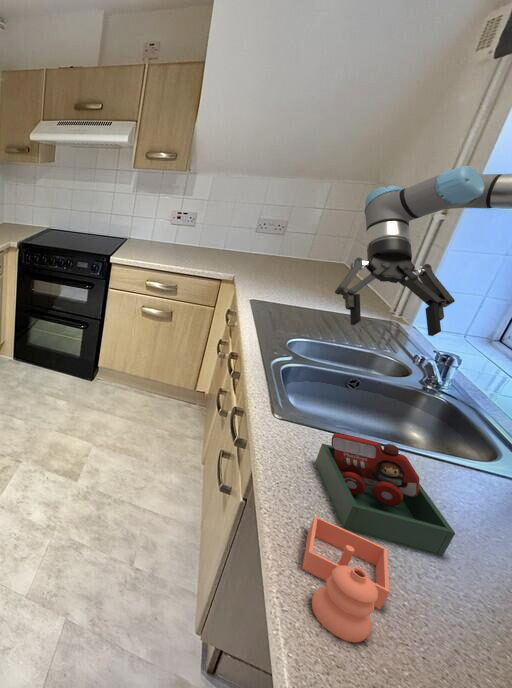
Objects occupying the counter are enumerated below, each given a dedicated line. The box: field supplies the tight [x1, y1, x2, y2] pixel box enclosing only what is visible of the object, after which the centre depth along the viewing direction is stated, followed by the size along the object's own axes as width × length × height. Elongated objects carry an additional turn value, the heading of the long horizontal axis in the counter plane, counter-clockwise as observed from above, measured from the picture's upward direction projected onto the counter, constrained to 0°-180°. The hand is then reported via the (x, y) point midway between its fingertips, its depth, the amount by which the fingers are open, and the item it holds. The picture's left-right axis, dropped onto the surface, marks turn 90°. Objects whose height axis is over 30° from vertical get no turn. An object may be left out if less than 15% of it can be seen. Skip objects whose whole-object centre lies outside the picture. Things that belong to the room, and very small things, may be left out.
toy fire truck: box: [330, 433, 420, 506], centre depth 78 cm, size 7×12×10 cm, turn 42°
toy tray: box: [314, 443, 456, 557], centre depth 77 cm, size 14×18×6 cm
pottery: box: [301, 515, 390, 643], centre depth 61 cm, size 18×10×10 cm, turn 140°
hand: (394, 328), depth 89 cm, fingers open, 13 cm apart
